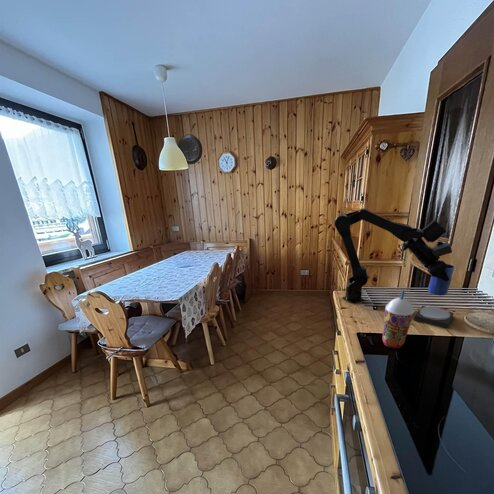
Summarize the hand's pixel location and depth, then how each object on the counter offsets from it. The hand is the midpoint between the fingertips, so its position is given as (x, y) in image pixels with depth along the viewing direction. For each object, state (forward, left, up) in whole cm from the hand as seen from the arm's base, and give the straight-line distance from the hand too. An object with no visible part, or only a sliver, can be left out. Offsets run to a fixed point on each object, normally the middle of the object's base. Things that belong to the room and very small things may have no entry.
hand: (445, 277), depth 116 cm
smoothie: (+12, -41, -13) cm, 45 cm away
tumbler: (-1, -1, -7) cm, 7 cm away
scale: (+7, -13, -12) cm, 19 cm away
